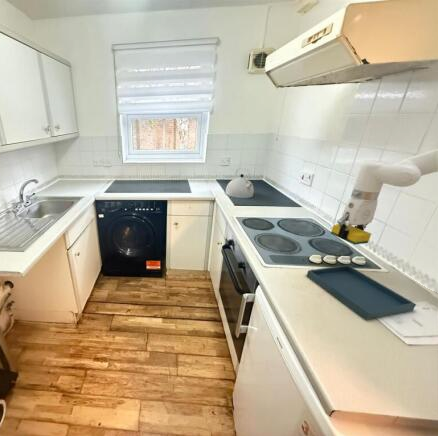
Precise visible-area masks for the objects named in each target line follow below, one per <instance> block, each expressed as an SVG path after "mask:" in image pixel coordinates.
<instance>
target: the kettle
mask: <svg viewBox="0 0 438 436" xmlns="http://www.w3.org/2000/svg"><path fill="white" fill-rule="evenodd" d="M240 169H243V170H245V171H246V172H247V174H248V178H246V177H244V174H243V173H241V174H240V175H239V176H240V177H237V173H238V170H240ZM234 177H235V178H233V179H232V180H230V181H229V182H228V184H227V186H226V187H225V192H224V193H225V195H227V196H229V197H232V198H237V199H249V198H253V197H254V195H255V194H254V193H255V188H254V185H253V183H252V182H251V181H250V177H251V175H250V171H249V169H247V168H245V167H243V166H241V167H238V168H237V169H236V170H235V174H234Z"/></svg>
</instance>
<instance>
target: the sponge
mask: <svg viewBox="0 0 438 436" xmlns="http://www.w3.org/2000/svg"><path fill="white" fill-rule="evenodd" d="M345 225H346V226H347V225H348V224H347V223H346V224H345ZM339 231H340V226H339V223H337V224H333V226H332V228H331V232H330V234H331V235H333V236H335V237H338V233H339ZM348 231H349V233H348V236H347V239H346V240H344V239H342V238H340V239H341V240H343V241H346V242H348V243H350V244H352V245H356V246H357V245H363V244H368V243H369V241H370V238H371V236H372V233H371V232H368V231H366V230H364V231H363V230H361V229H358V228H356V227H355V226H354V225H352V226H351V227H350V228H349V230H348ZM338 238H339V237H338Z"/></svg>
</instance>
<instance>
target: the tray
mask: <svg viewBox="0 0 438 436" xmlns="http://www.w3.org/2000/svg"><path fill="white" fill-rule="evenodd" d="M306 277H307V278H308V279H310V280H311V281H312V282H314V283H315V284H317V286H318V287H320V288H322V289H323V290H324V291H326V292H327V293H329V294H330V295H331V296H333V297H334V298H335V299H337V300H338V301H339V302H341V303H342V304H344V306H346V307H347V308H348V309H350V310H352V312H354V313H355V314H357V315H358V316H360V317H361V318H362V319H364V320H365V321H368V320H373V319H378V318H382V317H388V316H389V317H390V316H393V315H398V314H403V313H404V314H405V313H408V312H413V311H414V309H415V307H416V306H417V303H415V302H413V301H411V300H410V299H408V298H406V297H405V296H403V295H402V294H400V293H397V292H395V291H394V290H392V289H391V288H389V287H387V286H385V285H383V284H382V283H381V282H378V281H377V280H375V279H373V278H372V277H370V276H368V275H366V274H364V273H363V272H361V271H359V270H358V269H356V268H354V267H352V266H350V265H349V264H344V265H338V266H331V267H323V268H316V269H310V270H308V271H307V273H306Z"/></svg>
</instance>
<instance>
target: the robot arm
mask: <svg viewBox="0 0 438 436" xmlns="http://www.w3.org/2000/svg"><path fill="white" fill-rule="evenodd" d="M437 172H438V148H435V149H432V150H428V151H425V152H423V153H419V154H417V155H413V156H410V157H407V158H404V159H401V160H399V161H397V162H394V163H391V164H390V163H389V162H386V161H382V160H365V161H364V162H362V163H361V165H360V169H359V171H358V173H357V177H356V180H355V183H354V185H353V189H352V192H351V194H350V197H349V199H348V201H347V203H346V205H345V207H344V209H343V212H342V215H341V217H340V218H339V219H337V224H339V226H340V231H339V233H338V238H339V239H341V238H342V239H341V240H343V239H344V240H343V241H346V239H347V236H348V233H349V231H348V230H349V228H350V227H351V226H354V227H356V228H358V229H361V230H363V231H365V229H366V228H367V226H368V225H369V224H371V223H372V222H373V221H374V217H375V214H376V211H377V206H378V202H379V201H378V198H379V196H380V193H381V190H382V188H383V187H384V184H385V185H389V186H393V187H398V188H406V187H410V186H414V185H415V184H416V183H418V182H419V181H420V180H421V177H423V176H426V175H430V174H433V173H437ZM345 224H348V225H347V226H346V225H345Z"/></svg>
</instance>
